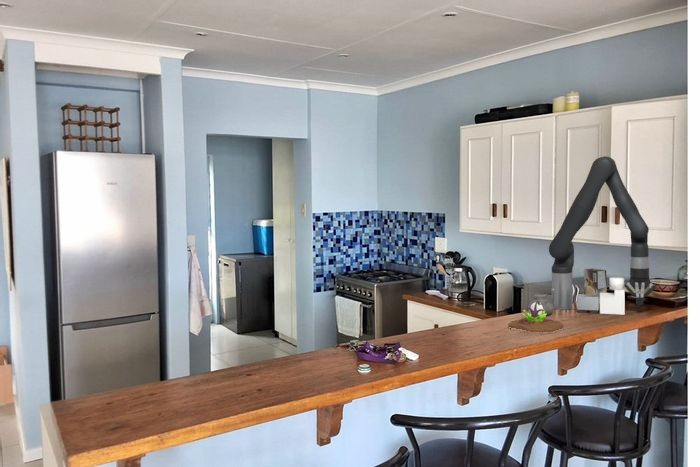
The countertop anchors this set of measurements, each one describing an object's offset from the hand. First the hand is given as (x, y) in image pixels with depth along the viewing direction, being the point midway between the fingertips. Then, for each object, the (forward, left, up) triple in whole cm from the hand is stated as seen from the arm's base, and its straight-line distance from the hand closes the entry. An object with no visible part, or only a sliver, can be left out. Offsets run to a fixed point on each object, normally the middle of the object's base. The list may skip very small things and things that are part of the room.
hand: (639, 305), depth 254 cm
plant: (-40, -37, -4) cm, 55 cm away
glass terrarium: (-40, -14, -4) cm, 42 cm away
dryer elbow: (-11, 0, -4) cm, 12 cm away
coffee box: (-19, +26, -4) cm, 32 cm away
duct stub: (-21, 0, -4) cm, 22 cm away
